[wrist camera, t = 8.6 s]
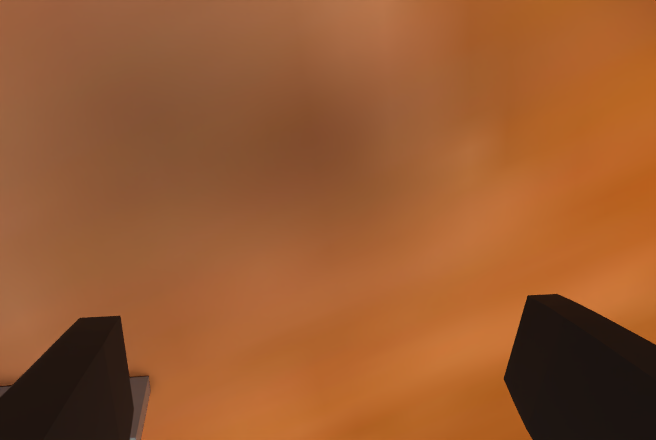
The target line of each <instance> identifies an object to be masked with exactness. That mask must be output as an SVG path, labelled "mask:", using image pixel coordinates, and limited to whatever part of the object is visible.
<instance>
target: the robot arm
mask: <svg viewBox="0 0 656 440" xmlns="http://www.w3.org/2000/svg"><path fill="white" fill-rule="evenodd" d="M504 381H505V383H506V385H507V387H508V390H509V392H510V394H511V397H512V399H513V401H514V404H515V406H516V408H517V410H518V412H519V414H520V416H521V419H522V421H523V423H524V425H525V427H526V429H527V431H528V432H529V434H530V436H531V438H532V439H533V440H656V345H655V344H653V343H651V342H650V341H648V340H646V339H644V338H642V337H640V336H638V335H637V334H635V333H633V332H631V331H629V330H627V329H626V328H624V327H622V326H620V325H618V324H616V323H615V322H613V321H611V320H609V319H607V318H605V317H603V316H601V315H600V314H598V313H596V312H594V311H592V310H590V309H588V308H586V307H584V306H582V305H580V304H578V303H576V302H574V301H572V300H570V299H567V298H565V297H563V296H561V295H558V294H548V295H528V296H527V300H526V303H525V306H524V310H523V313H522V317H521V320H520V324H519V327H518V331H517V334H516V338H515V341H514V345H513V348H512V352H511V355H510V359H509V362H508V366H507V369H506V373H505V376H504ZM133 413H134V405H133V398H132V391H131V385H130V378H129V371H128V364H127V358H126V351H125V344H124V337H123V331H122V324H121V317H120V316H108V317H88V318H79V319H78V320H77V321H76V322H75V323H74V324H73V325H72V326H71V327H70V328H69V329H68V330H67V331H66V332H65V333H64V334H63V335H62V336H61V337H60V338H59V339H58V340H57V341H56V342H55V343H54V344H53V345H52V346H51V347H50V348H49V349H48V350H47V351H46V352H45V353H44V354H43V355H42V356H41V357H40V358H39V359H38V360H37V361H36V362H35V363H34V364H33V365H32V366H31V367H30V368H29V369H28V370H27V371H26V372H25V373H24V374H23V375H22V376H21V377H20V378H19V379H18V380H17V381H16V382H15V383H14V384H13V385H12V386H11V387H10V388H9V389H8V390H7V391H6V392H5V393H4V394H3V395H2V396H1V397H0V440H130V435H131V427H132V420H133Z"/></svg>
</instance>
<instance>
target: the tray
mask: <svg viewBox="0 0 656 440" xmlns="http://www.w3.org/2000/svg"><path fill="white" fill-rule="evenodd" d="M130 385H131V391H132V398H133V405H134V413H133V420H132V427H131V435H130V440H141V436H142V431H143V426H144V421H145V416H146V411H147V406H148V401H149V396H150V384H149V376H146V377H132V378H130ZM10 387H11V386H5V387H0V397H1V396H2V395H3V394H4V393H5V392H6V391H7V390H8V389H9V388H10Z"/></svg>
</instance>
